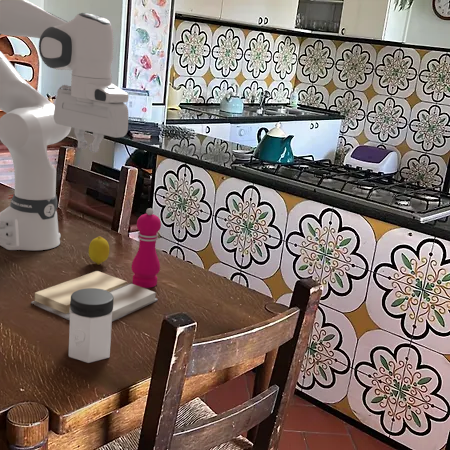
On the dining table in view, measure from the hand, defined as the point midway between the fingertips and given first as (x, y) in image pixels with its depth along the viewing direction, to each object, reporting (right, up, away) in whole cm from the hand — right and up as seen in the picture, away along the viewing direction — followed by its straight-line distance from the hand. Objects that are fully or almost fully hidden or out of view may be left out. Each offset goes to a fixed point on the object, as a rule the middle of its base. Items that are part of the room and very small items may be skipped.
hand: (88, 150), depth 144 cm
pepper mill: (+11, -33, +15) cm, 37 cm away
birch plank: (-2, -34, +3) cm, 34 cm away
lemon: (-3, -28, +24) cm, 37 cm away
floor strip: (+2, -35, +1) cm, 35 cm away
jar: (+5, -43, -21) cm, 48 cm away
